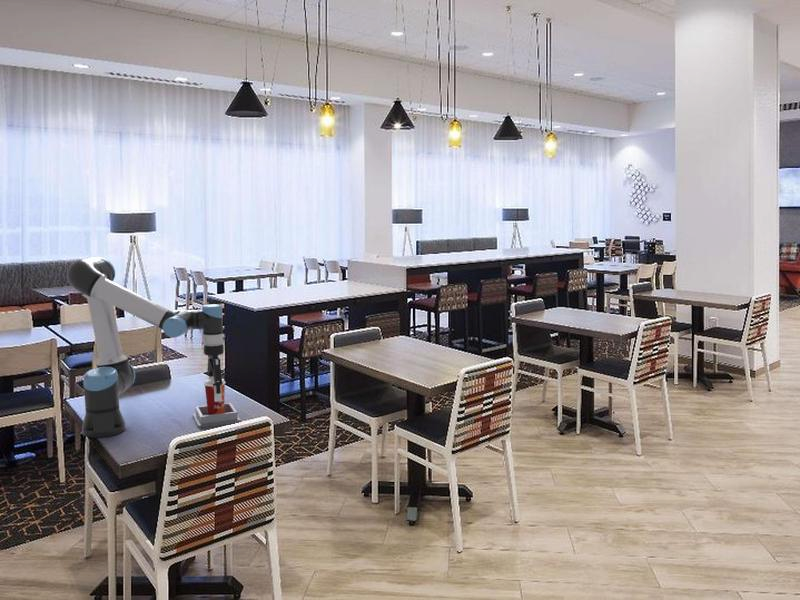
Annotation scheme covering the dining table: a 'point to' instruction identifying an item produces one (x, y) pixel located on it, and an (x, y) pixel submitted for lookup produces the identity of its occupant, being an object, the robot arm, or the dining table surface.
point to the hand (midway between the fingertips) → (215, 396)
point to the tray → (215, 416)
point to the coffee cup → (211, 404)
